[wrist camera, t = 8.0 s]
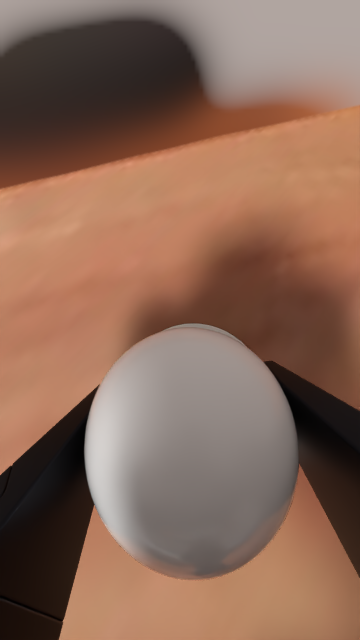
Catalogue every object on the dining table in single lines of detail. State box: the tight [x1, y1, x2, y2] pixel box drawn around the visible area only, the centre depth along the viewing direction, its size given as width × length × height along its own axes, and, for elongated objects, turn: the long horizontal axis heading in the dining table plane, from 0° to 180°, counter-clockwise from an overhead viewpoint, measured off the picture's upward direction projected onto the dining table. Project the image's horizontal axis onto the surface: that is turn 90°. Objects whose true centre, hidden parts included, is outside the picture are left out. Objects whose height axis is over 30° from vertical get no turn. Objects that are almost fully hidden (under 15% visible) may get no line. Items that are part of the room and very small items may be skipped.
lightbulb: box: [84, 327, 299, 581], centre depth 9 cm, size 6×6×11 cm
